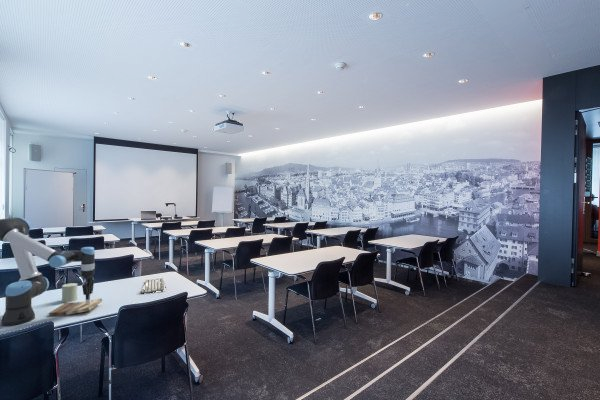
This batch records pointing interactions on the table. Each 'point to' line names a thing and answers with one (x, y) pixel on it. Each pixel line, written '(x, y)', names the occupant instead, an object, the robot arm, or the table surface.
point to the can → (69, 292)
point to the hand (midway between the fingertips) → (88, 303)
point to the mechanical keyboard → (153, 286)
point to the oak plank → (83, 307)
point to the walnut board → (62, 309)
